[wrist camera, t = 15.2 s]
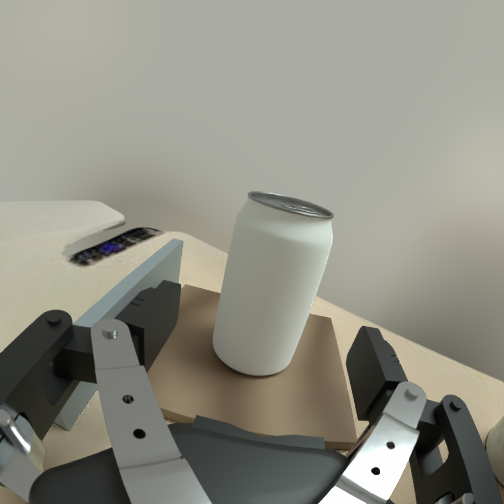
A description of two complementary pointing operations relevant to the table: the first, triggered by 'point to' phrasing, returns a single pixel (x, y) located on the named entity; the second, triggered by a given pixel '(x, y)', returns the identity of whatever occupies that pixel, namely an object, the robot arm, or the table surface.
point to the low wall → (113, 303)
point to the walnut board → (253, 380)
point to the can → (270, 281)
